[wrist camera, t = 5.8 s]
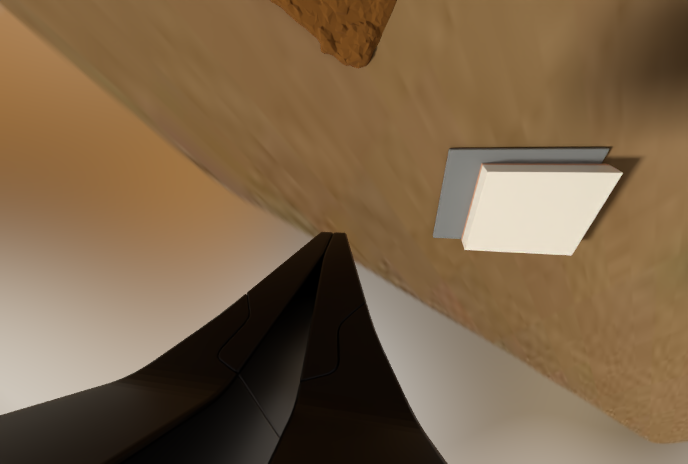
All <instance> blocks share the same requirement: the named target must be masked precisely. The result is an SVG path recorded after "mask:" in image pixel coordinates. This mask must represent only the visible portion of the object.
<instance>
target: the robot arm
mask: <svg viewBox="0 0 688 464" xmlns="http://www.w3.org/2000/svg"><path fill="white" fill-rule="evenodd" d="M0 464H447V462H446V461H445V460H444V458H443V457H442V455H441V454H440V453H439V451H438V450H437V448H436V447H435V446H434V444H433V443H432V441H431V440H430V439H429V437H428V436H427V435H426V433H425V432H424V430H423V428H422V427H421V425H420V423H419V422H418V420H417V418H416V416H415V415H414V413H413V411H412V409H411V407H410V405H409V403H408V401H407V399H406V397H405V395H404V393H403V391H402V389H401V387H400V384H399V382H398V380H397V378H396V376H395V374H394V372H393V369H392V367H391V365H390V363H389V361H388V359H387V356H386V354H385V352H384V350H383V348H382V346H381V343H380V341H379V338H378V336H377V334H376V331H375V328H374V326H373V322H372V319H371V316H370V313H369V310H368V306H367V304H366V300H365V297H364V293H363V290H362V287H361V283H360V280H359V276H358V273H357V269H356V266H355V263H354V259H353V256H352V252H351V249H350V246H349V242H348V239H347V235H346V233H334V234H333V233H332V232H321V233H319V234H318V235H317V236H316V237H314V238H313V239H312V240H311V241H310V242H308V243H307V244H306V245H305V246H304V247H302V248H301V249H300V250H299V251H297V252H296V253H295V254H294V255H292V256H291V257H290V258H289V259H288V260H287V261H285V262H284V263H283V264H281V265H280V266H279V267H278V268H277V269H275V270H274V271H273V272H272V273H271V274H269V275H268V276H267V277H266V278H264V279H263V280H262V281H261V282H259V283H258V284H257V285H256V286H255V287H253V288H252V289H251V290H250V291H248V292H247V295H246V294H245V295H243V296H242V297H241V298H240V299H239V300H238V301H236V302H235V303H234V304H232V305H231V306H230V307H228V308H227V309H226V310H225V311H223V312H222V313H221V314H220V315H218V316H217V317H215V318H214V319H213V320H211V321H210V322H208V323H207V324H206V325H204V326H203V327H202V328H200V329H199V330H198V331H196V332H194V333H193V334H192V335H190V336H189V337H187V338H186V339H184V340H183V341H181V342H180V343H179V344H177V345H176V346H174V347H173V348H171V349H170V350H168V351H167V352H166V353H164V354H163V355H161V356H160V357H158V358H157V359H156V360H154V361H153V362H151V363H150V364H148V365H146V366H145V367H143V368H142V369H140V370H138V371H136V372H135V373H133V374H130V375H128V376H127V377H124V378H122V379H119V380H117V381H114V382H111V383H108V384H105V385H102V386H98V387H95V388H91V389H88V390H84V391H81V392H78V393H74V394H71V395H68V396H64V397H61V398H57V399H54V400H51V401H47V402H44V403H41V404H37V405H34V406H31V407H27V408H23V409H20V410H17V411H14V412H10V413H7V414H3V415H0Z"/></svg>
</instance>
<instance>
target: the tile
mask: <svg viewBox="0 0 688 464" xmlns="http://www.w3.org/2000/svg"><path fill="white" fill-rule="evenodd" d="M622 174H623V172H621V171H619V170H618V169H616V168H614V167H613V166H611V165H609V164H543V163H482V164H481V167H480V171H479V175H478V178H477V182H476V186H475V190H474V193H473V197H472V201H471V204H470V208H469V212H468V215H467V219H466V223H465V227H464V230H463V234H462V238H461V240H462V243H463V246H464V249H465V250H479V251H498V252H517V253H536V254H554V255H572V254H573V252H574V251H575V249H576V247H577V246H578V244H579V243H580V241H581V239H582V238H583V236H584V235H585V233H586V231H587V230H588V228H589V227H590V225H591V224H592V222H593V220H594V219H595V217H596V216H597V214H598V212H599V211H600V209H601V208H602V206H603V204H604V203H605V201H606V200H607V198H608V196H609V195H610V193H611V192H612V190H613V188H614V187H615V185H616V184H617V182H618V180H619V179H620V177H621V176H622Z"/></svg>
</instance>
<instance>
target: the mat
mask: <svg viewBox="0 0 688 464" xmlns="http://www.w3.org/2000/svg"><path fill="white" fill-rule="evenodd" d="M608 151H609V149H608V148H452V149H449V152H448V157H447V162H446V168H445V173H444V179H443V184H442V189H441V195H440V200H439V206H438V211H437V216H436V222H435V227H434V233H433V238H455V239H461V238H462V234H463V230H464V227H465V223H466V219H467V215H468V212H469V208H470V204H471V201H472V197H473V193H474V190H475V186H476V182H477V178H478V175H479V171H480V167H481V164H482V163H543V164H601V163H602V161H603V160H604V158H605V156H606V154H607V153H608Z"/></svg>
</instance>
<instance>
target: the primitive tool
mask: <svg viewBox="0 0 688 464" xmlns="http://www.w3.org/2000/svg"><path fill="white" fill-rule="evenodd" d="M270 1H271V2H272V3H275V4H276V5H278V6H280V7H281V8H282V9H284V10H285V12H286V13H287V14H289V15H290V16H291V17H292V18H293V19H294V20H295V21H296V22H297V23H299V24H300V25H302V26H303V27H304V28H306V29H307V30H308V31H309V32H310V33H311V34H312V35H313V36H315V37H316V38H317V39H318V41H319V42H320V44H321V52H323V53H324V54H330V55H333V56H335V57H336V58H337V59H338V60H339V61H340V62H341V63H342V64H344V65H346V66H347V65H351V66H353V67H356V68H361V67H364V66H366V65H367V64H368V63H369V61H370V59H371V57H372V54H373V51H374V49H375V48H376V46H377V45H378V43H379V41H380V39H381V36H382V33H383V31H384V29H385V26H386V24H387V22H388V20H389V18H390V15H391V13H392V11H393V9H394V6H395V4H396V1H397V0H270Z"/></svg>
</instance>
